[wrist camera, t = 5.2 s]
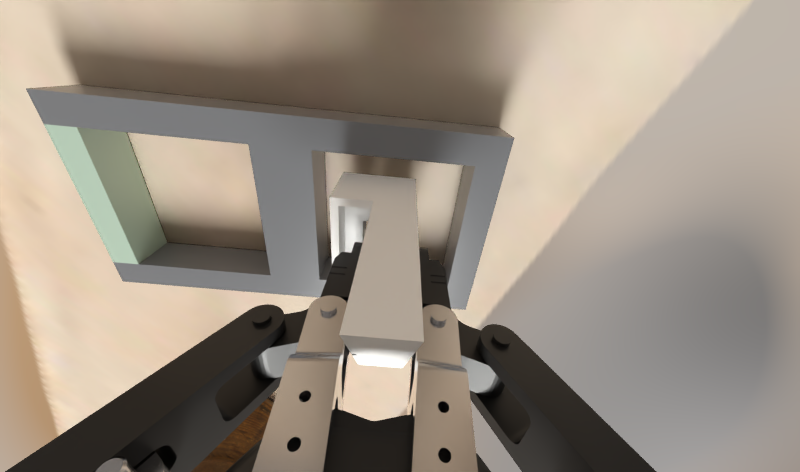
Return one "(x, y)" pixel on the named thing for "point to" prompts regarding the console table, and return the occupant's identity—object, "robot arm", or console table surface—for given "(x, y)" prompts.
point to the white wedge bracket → (379, 267)
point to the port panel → (258, 182)
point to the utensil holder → (238, 441)
